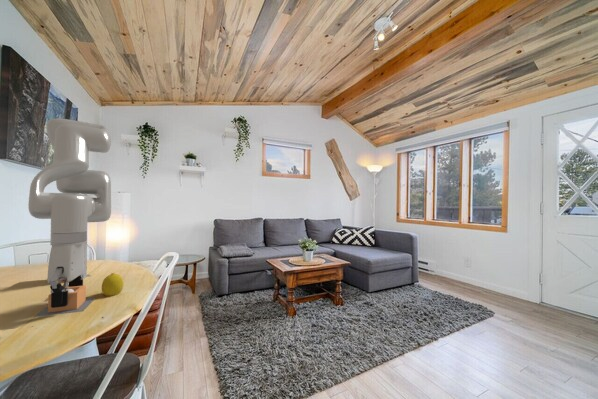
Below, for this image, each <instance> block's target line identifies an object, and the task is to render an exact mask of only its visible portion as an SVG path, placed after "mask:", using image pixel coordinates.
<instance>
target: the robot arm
mask: <svg viewBox="0 0 598 399" xmlns="http://www.w3.org/2000/svg"><path fill="white" fill-rule="evenodd" d="M46 134H47V137H48V139H49V142H50V144H51V146H52V148H53V162H52V163H51V164H49V165H47V166H45V167H44V168H43V169H41V170H40V171H39V172H38V173H37V174H35V176H34V177H33V178H32V180H31V183H30V187H29V195H28V204H27V205H28V212H29V214H30V215H31V216H32V217H33V218H35V219H39V220H40V219H41V220H50V242H49V243H50V246H51V248H50V252H49V256H48V257H49V259H48V266H47V268H48V269H47V279H46V281H47V283H48V284H50V286H49V288H50V294H51V307H52V308H56V307H65V306H67V305H68V290H67V291H66V289H67V286H68V284H69V287H74V286H84V279H85V278H87V277H92V275H90V274H87V268H88V265H87V264H88V263H87V262H88V258H87V257H88V223H102V222H106V221H108V220H109V219H110V218H111V216H112V181H111V177H110V175H109V174H108V172H105V171H102V170H95V169H89V168H90V166H89V165H90V160H89V159H90V158H89V156H90V155H89V154H90V153H89V152H94V153H102V154H105V153H108V152H109V151H110V149H111V145H112V139H111V133H110V131H109V130H108V128H107V126H106V125H102V124H97V123H92V122H84V121H79V120H74V119H67V118H51V119H49V120H48V121H47V122H46ZM53 182H55V183H56V184H55V185H56V189H57V190H58V191H59V192H44V190H45V188H46V187H47V186H48V185H49V184H52V183H53ZM92 195H93V196H95V197H93V196H92ZM62 284H63V285H62Z"/></svg>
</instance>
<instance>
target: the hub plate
mask: <svg viewBox="0 0 598 399" xmlns="http://www.w3.org/2000/svg"><path fill="white" fill-rule="evenodd" d="M67 290H68V292H74V290H73V289H66V291H67ZM95 299H97V296H96V297H87V298H86V301H85V302H84V303H83V304H82V305H81V306H80V307H79V308H77V309H73V310H65V311H56V312H48V306H46V307H45V308H44V309H42V310H41V311H40V312H38V313H37V314H35V315H34V316H33V318H38V317H39V318H41V317H47V316H54V315H55V316H56V315H62V314H71V313H79V312H84V311H85V310H86V309H87V308H88V307H89V306H90V305H91V304H92V302H94V301H95Z"/></svg>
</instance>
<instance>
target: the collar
mask: <svg viewBox="0 0 598 399" xmlns="http://www.w3.org/2000/svg"><path fill="white" fill-rule="evenodd" d="M67 289H73V290H74V292H68V305H67V306H65V307H56V308H52V307H51V293H50V294H48V295H47V296H48V297H47V299H48V301H47V305H48V306H47V307H48V312H56V311H65V310H73V309H77V308H79V307H80V306H81V305H82V304H83V303H84V302H85V301H86V297H87V295H86V294H87V285H83V286H74V287H67Z"/></svg>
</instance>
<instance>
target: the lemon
mask: <svg viewBox="0 0 598 399" xmlns="http://www.w3.org/2000/svg"><path fill="white" fill-rule="evenodd" d="M123 288H124V280H123V277H122V276H121V275H120V274H117V273H114V272H113V273H112V272H111V274H109V275H106V277H104V279H103V280H102V284H101V293H102V295H104V296H105V297H112V296H117V295H119V294H120V293H121V292H122V291H123Z"/></svg>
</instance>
